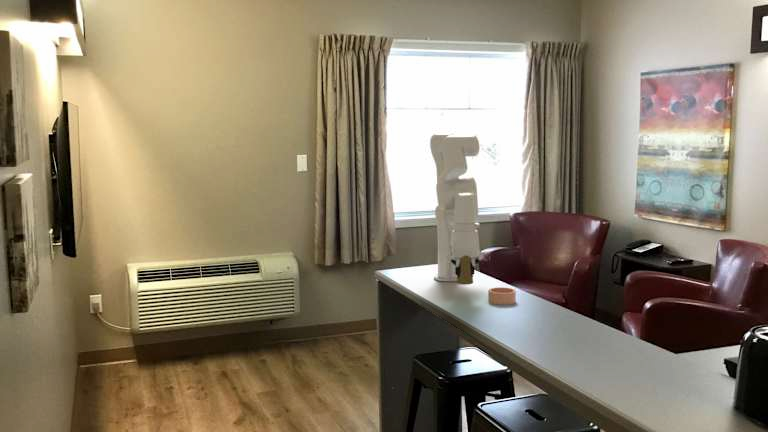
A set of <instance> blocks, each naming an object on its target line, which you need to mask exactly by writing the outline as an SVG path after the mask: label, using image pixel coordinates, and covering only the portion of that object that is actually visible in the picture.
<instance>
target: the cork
mask: <svg viewBox="0 0 768 432" xmlns="http://www.w3.org/2000/svg"><path fill="white" fill-rule="evenodd" d="M471 260H472V258H470V257H469V256H467V255H466V256H463V257H462V258H460V263H459V267H460V278H458V276H457V281H456V284H458V285H463V286H464V285H471V284H474V279H473V278H474V276H473V277H472V275H471Z"/></svg>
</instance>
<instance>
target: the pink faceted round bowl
mask: <svg viewBox="0 0 768 432" xmlns="http://www.w3.org/2000/svg"><path fill="white" fill-rule="evenodd" d="M516 294H517V290H516V289H514V288H511V287H503V286H502V287H500V286H499V287H491V288H489V289H488V294H487V295H488V300H487V301H488V302H489V303H490V304H492V305H500V306H501V305H502V306H503V305H504V306H505V305H513V304H515V303H516V302H517V301H516V300H517V295H516Z"/></svg>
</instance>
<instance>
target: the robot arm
mask: <svg viewBox="0 0 768 432" xmlns="http://www.w3.org/2000/svg"><path fill="white" fill-rule="evenodd" d="M429 144H430V145H429V147H430V151H431V155H432V158H433V161H434V164H435V167H436V188H435V190H436V198H437V206H436V207H435V210H434V213H435V214H434V216H435V222H436V228H437V229H436V230H437V274H434V276H433V279H434V280H435V281H439V282H450V283H451V282H457V276H458V278H460V267H459V263H460V258H462V257H463V256H466V255H467V256H469V257H470V258H472V260H471V275H472V277H473V278H474V275H475V267H476V266H477V264H478V263H479V262H480V261H482V260H483V259H485V255H484V254H483V253H482V251H481V250H480V240H479V232H478V230H477V228H480V227H481V226H480V223H478V220H479V204H478V202H479V201H478V200H479V199H478V188H477V182H476V180H475V178H474V177H473V176H471V175H465V174H466V173H467V171H468V163H467V157H476V156H478V154H479V153H480V141H479V139H478V137H477V135H475V134H474V133H472V132H470V131H457V132H456V131H455V132H454V131H451V132H449V131H448V132H447V131H446V132H445V131H444V132H438V133H433V134H432V135H431V137H430V141H429Z"/></svg>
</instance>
